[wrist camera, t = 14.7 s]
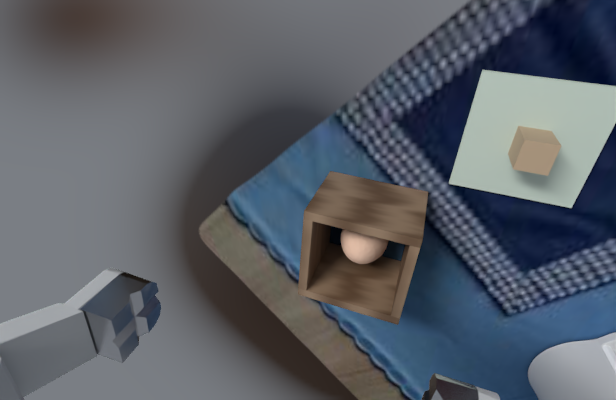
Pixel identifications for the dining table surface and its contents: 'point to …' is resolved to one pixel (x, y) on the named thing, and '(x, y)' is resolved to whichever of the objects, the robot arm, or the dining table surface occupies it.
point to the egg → (362, 246)
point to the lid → (534, 136)
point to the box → (367, 220)
